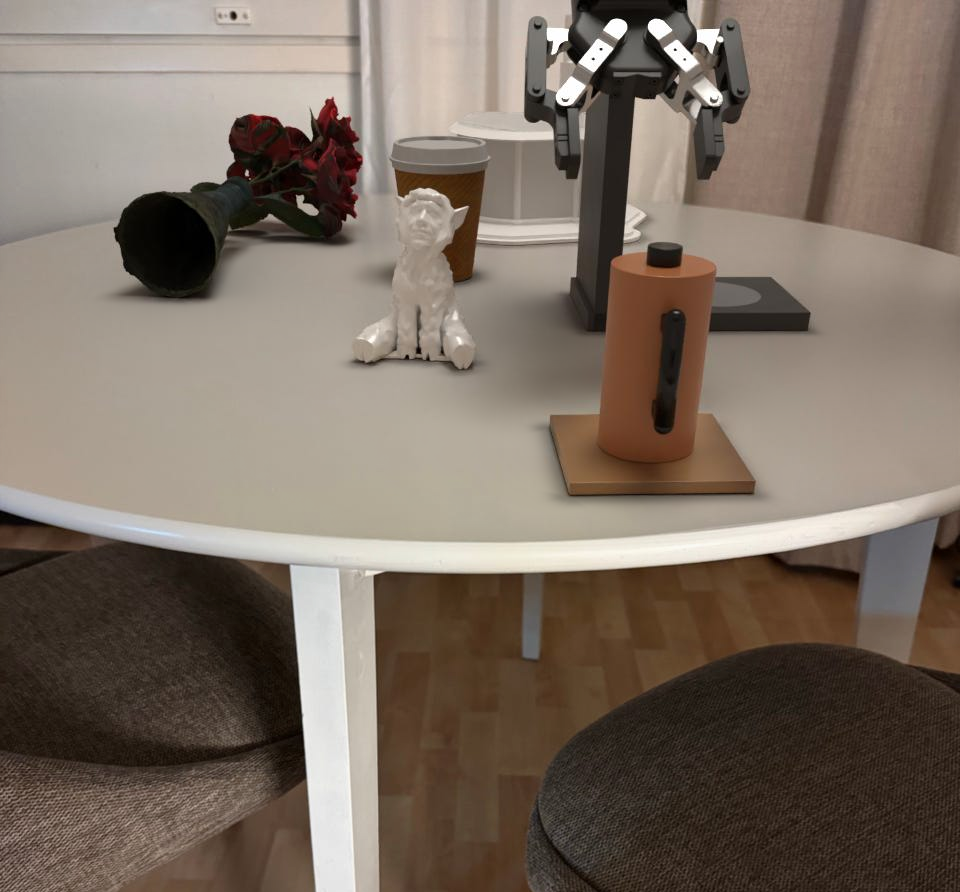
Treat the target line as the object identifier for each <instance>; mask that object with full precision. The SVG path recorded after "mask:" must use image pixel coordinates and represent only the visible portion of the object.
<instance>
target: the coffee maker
mask: <svg viewBox="0 0 960 892" xmlns="http://www.w3.org/2000/svg"><path fill="white" fill-rule="evenodd" d="M635 103H636V97H627V98H623V99H608V95H606V94H603V93H600V94H599V96H598V97H597V98H596V99H595V101H594V102H593V103H592V104H591V105H590V107H589V108H588V109H587V110H586V111H585V113H586V117H585V134H584V151H583V168H582V185H581V202H580V219H579V236H578V242H577V255H576V269H575V272H576V273H575V276H571V277H570V285H569V295H570V297H571V299H572V301H573V303H574V305H575V307H576V309H577V312H578V314H579V316H580V318H581V320H582V322H583V325H584V327H585V329H586V331H587V332H606V323H607V309H608V296H609V283H610V270H611V261H612V260H613V259H614V258H616V257H618V256H621V255H624V254H623V253H624V244H623V242H624V230H625V217H626V205H627V204H628V203H627V202H628V192H629V191H628V189H629V181H630V180H629V179H630V169H631V168H630V167H631V166H630V165H631V155H632V141H633V130H634V129H633V128H634V116H635V105H636V104H635ZM811 313H812V312H811V311H810V310H809V309H807V307H806V306H804V304H802V303H801V302H800V301H799V300H798V299H796V297H794V296H793V295H792V294H791V293H790V292H789V291H788V290H786V288H784V287H783V286H782V285H781V284H780V283H778V282H777V281H776V280H775V279H774V278H773V277H772V276H716V277H715V285H714V293H713V301H712V308H711V316H710V324H709V331H808V330H809V325H810V320H811V315H812V314H811Z"/></svg>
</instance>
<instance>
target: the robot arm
mask: <svg viewBox="0 0 960 892" xmlns="http://www.w3.org/2000/svg"><path fill="white" fill-rule="evenodd" d="M570 7H571V10H570V11H571V15H572V24H571V26H570V28H569V29H565V28H557V27H548V22H547V20H546V18H544V17H543V16H541V15H535V16H532V17H531V18H530V19H529V20H528V26H527V33H526V34H527V35H526V42H525V50H524V51H525V52H524V88H523V89H524V91H523V93H524V94H523V112H524V117H525V119H526V120H527V121H528V122H530V123H537V122H539V121H540V120H542V121H545V122H547V123H549V124H550V125H551V127H552V128H553V135H554V154H555V164H556V166H557V168H558V170H565V174H566V179H577V178H578V173H579V169H580V163H581V147H580V131H579V115H580V114H581V113H582V112H584V113H586V110H587V109H588V108H589V107H590V105H591V104H592V103H593V102H594V101H595V99H596V98H597V97H598V96H599V94H600V93H603V94H606V95H608V99H623V98H627V97H635V99H641V100H656V98H657V96H659V97H660V98H661V99H662V100H663V101H664V102H665V104H667V105H668V106H669V108H671V110H672V111H673V112H674V113H677V114H678V113H682V115H684V116H685V118H686V119H687V120H688V121H689V122H690V123H691V124H692V125H693V126H694V129H693V132H692V134H693V137H692V138H693V148H694V158H695V159H694V160H695V170H696V171H695V172H696V179H697V180H698V181H709V180H710V179H711V178H712V177H711V176H712V174H713V172H718V169H719V165H720V164H721V160H722V159H723V156H724V153H725V150H726V149H725V147H726V146H725V137H724V129H723V128H724V126H723V124H724V123H726V124H729V125H734V124H735V125H736V124H737V123H738V122H739V121H740V119H741V116H742V112H743V109H744V107H745V104H746V103H747V100H748V99H749V96H750V94H751V85H750V79H749V73H748V66H747V62H746V56H745V50H744V44H743V38H742V32H741V26H740V23H739V22H738V20H737V19H735V18H732V17H728V18H725V19H723V20H722V22H721V24H720V26H719V28H710V29H708V28H707V29H697V28H696V26H695V25H694V23H693V21H692V20H691V19H690V16H689V11H688V10H689V6H688V0H570ZM565 51H566V52H567V55H568V57H569V58H570V60H571V61H572V62H573V63H574V64H575V65H576V67H575V69H574V72H573V74H572V75H571V77H570V78H569V79H568V80H567V82H566V83H565V84H564V85H563V87H562V88H561V89H560V90H559V89H558V91H555V90H551V89H549V88H547V70H548V69H550V67H551V66H552V65H554V64H555V63H556V62H557V59H558V56H559V55H560V54H562V53H564V52H565ZM694 53H696V54H697V53H698V54H700V55H701V56H702V57H703V59H704V62H705V63H706V64H707V65H706V67H707V69H708V70H710V71H712V70H713V71H714V77H715V83H716V84H715V85H716V86H715V85H714V84H713V83H712V82H711V81H710V80H709V79H708V78H707V77H706V76H705V73H704V67H703V65H702V64H701V63H700V62H699V61H698V59H697V58H695V56H694ZM677 77H678V78H679V81H678V83H677V82H676V79H677Z"/></svg>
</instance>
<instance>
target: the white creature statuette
mask: <svg viewBox="0 0 960 892" xmlns="http://www.w3.org/2000/svg"><path fill="white" fill-rule="evenodd" d="M394 198H395V201H396V203H397V205H398V210H399V212H398V216H396V218H395V219H394V225H395V226H397V233H398V235H397V240H398V241H399V242H401V244H402V245H403V246H404V248H405V247H406V248H405V249H404V250H403V252H402V253H401V256H399V257H398V258H397V259H396V266H395V268H394V270H393V276H392V281H391V290H392V292H393V296H392V298H393V299H392V300H393V302H392V303H391V304H389V305H388V309H387V310H388V312H387V314H386V316H385V317H383V318H382V319H380V320H378V321H377V322H374V323H372V324H370V325H369V324H368V326H366V327H365V328H363V329H362V331H361V333H360V334H359V335H357V337H355V338H354V339H353V341H352V343H351V349H352V352H353V355H354V357H355V358H356V359H357V360H358V361H362V362H365V364H368V363H375V362H377V361H379V360H382V359H401V360H404V359H406V356H408V358H409V360H413V359H415V358H418V359H419V358H420V359H422V360H423V361H427V359H428V358H429V361H431V362H434V361H442V362H452V363H453V364H454V366H455V368H457V369H458V370H462V369H465V370H466V369H468V368H469V367H470V366H471V364H472V362H473V361H474V358H475V351H476V348H477V345H476V343H475V341H473V335H471V334H470V333H469V331H468V330H467V327H466V324H465V318H464V316H463V314H462V312H461V307H460V304H459V301H458V299H457V296H456V293H455V290H454V287H455V286H454V282H455V281H454V282H453V280H452V279H453V277H452V274H453V273H452V271H451V270H450V264H449V262H448V261H447V260H446V256H445V255H444V254H443V253H442V252H441V251H442V250H443V249H444V248H445V246H446V245H448V244H451V243H452V239H453V237H454V232H455V230H456V229H458V228H459V227H460V226H461V225H462V224H463V222H464V219H465V216H466V214H467V211H468V209H469V207H470V206H465V207H462V208H459V209H455V210H454V209H453V208H452V207H451V204H450V200H449V199H448V198H447V197H446V196H445V195H442V194H440V193H438V192H437V191H435V190H432V189H430V188H426V189H422V188H418V189H416V190H413V191H410V192H409V195H406V196H405V197H404V198H402V197H400V196H398V195H395V197H394ZM417 350H420V353H417ZM442 352H443V353H442Z"/></svg>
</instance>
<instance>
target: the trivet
mask: <svg viewBox="0 0 960 892" xmlns="http://www.w3.org/2000/svg"><path fill="white" fill-rule="evenodd" d="M599 415H600V413H599V414H598V413H596V414H594V413H593V414H592V413H591V414H586V413H585V414H583V413H582V414H550V415H549V424H548V425H549V428H550V431H551V435H552V439H553V442H554V445H555V446H554V447H555V450H556V453H557V456H558V459H559V464H560V467H561V470H562V471H561V472H562V474H563V478H564V481H565V484H566V488H567V491H568V494H569V495H570V496H577V495H579V496H581V495H582V496H583V495H584V496H585V495H590V496H591V495H661V494H668V495H670V494H674V495H677V494H739V493H740V494H753V493H755V489H756V483H757V481H756V478H755V477H754V476H753V474H752V473H751V471H750V469H749V468H748V466H747V465H746V463H745V462H744V460H743V459H742V457H741V456H740V454H739V452H738V451H737V450H736V448H735V447H734V445H733V443H732V442H731V440H730V439H729V437H728V436H727V434H726V432H725V431H724V430H723V428H722V427H721V425H720V424H719V422H718V421H717V418H716V417H715V416H714V414H713V413H698V418H697V426H696V434H695V441H694V448H693V451H692V452H691V453H690V454H689V455H688V456H686V457H684V458H682V459H679V460H676V461H671V462H663V463H642V462H634V461H628V460H624V459H620V458H617V457H615V456H612V455H610V454H608V453H606V452H605V451H603V450H602V449H601V448H600V447H599V445H598V428H599Z"/></svg>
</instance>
